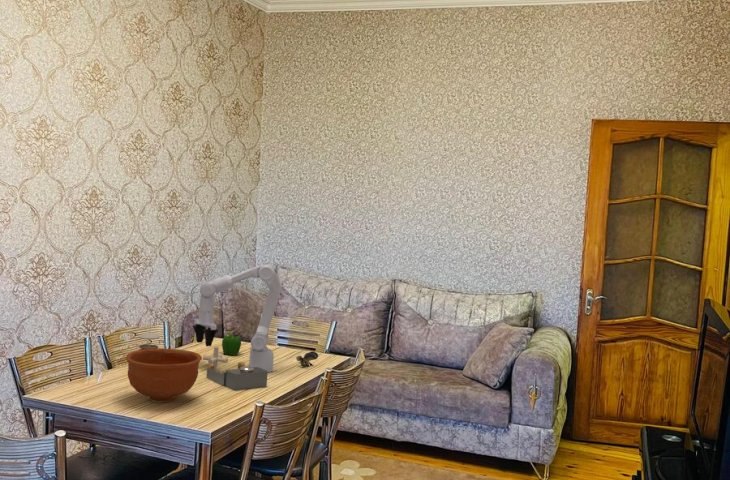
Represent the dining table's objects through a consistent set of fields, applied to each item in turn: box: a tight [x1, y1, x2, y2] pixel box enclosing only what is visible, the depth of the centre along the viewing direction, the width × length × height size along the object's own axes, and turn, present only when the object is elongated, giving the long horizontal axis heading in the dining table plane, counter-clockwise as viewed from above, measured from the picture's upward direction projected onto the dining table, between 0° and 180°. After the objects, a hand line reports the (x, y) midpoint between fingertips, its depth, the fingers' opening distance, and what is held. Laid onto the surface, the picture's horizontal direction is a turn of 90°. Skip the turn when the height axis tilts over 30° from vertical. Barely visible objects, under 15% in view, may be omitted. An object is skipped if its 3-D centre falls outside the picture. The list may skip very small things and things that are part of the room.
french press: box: [138, 307, 168, 350], centre depth 278 cm, size 10×12×25 cm
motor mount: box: [206, 361, 269, 391], centre depth 272 cm, size 15×20×7 cm
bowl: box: [125, 347, 203, 403], centre depth 242 cm, size 25×25×15 cm
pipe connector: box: [202, 346, 229, 370], centre depth 286 cm, size 10×10×10 cm
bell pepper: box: [221, 331, 242, 356], centre depth 320 cm, size 8×8×10 cm
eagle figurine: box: [295, 351, 319, 367], centre depth 308 cm, size 8×7×9 cm
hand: (204, 344), depth 292 cm, fingers open, 7 cm apart
